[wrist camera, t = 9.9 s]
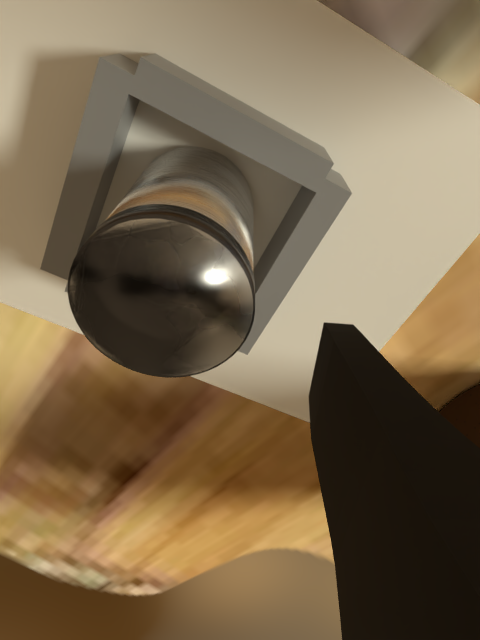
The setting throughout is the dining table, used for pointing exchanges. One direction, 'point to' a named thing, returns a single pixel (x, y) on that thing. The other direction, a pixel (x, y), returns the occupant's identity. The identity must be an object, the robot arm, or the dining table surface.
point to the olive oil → (465, 414)
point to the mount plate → (239, 161)
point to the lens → (171, 268)
